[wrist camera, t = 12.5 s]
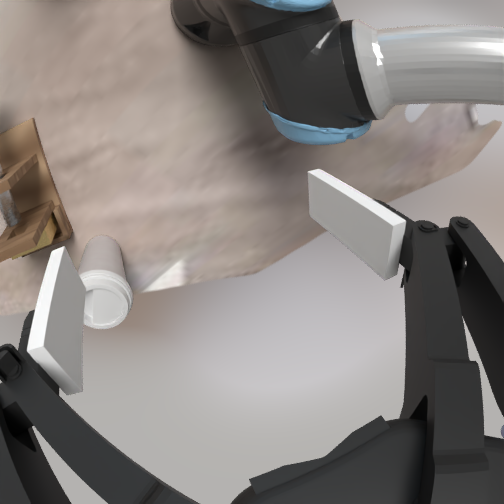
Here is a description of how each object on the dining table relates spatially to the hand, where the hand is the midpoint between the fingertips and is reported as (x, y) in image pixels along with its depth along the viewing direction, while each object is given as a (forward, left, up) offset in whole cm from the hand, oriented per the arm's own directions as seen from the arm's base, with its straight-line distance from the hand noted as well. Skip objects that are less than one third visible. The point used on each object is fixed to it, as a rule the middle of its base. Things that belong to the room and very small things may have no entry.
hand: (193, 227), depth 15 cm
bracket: (+2, -22, -35) cm, 41 cm away
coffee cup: (+18, -13, -35) cm, 41 cm away
